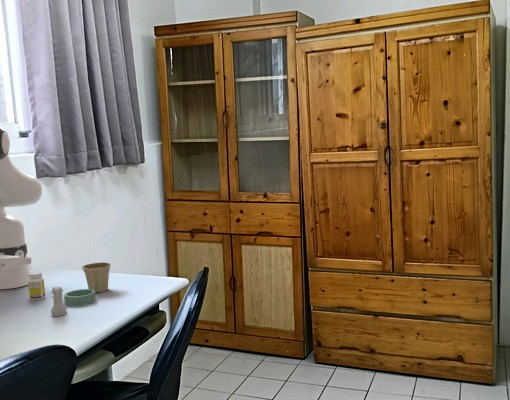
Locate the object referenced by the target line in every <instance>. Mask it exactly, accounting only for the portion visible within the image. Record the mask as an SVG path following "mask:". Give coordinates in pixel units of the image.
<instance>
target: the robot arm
mask: <svg viewBox="0 0 510 400" xmlns="http://www.w3.org/2000/svg"><path fill="white" fill-rule="evenodd" d="M10 146H11V141H10V138H9V134H8V132H7V131H6V130H5V129H4V128H3V127H0V290H10V289H15V288H21V287H26V286H29V284H28V280H29V279H30V278H29V273H31V272H33V269H32V268H33V267H32V258H31V257H29V256H28V255H27V254H28V246H27V243H26V241H25V240H26V238H25V227H24V224H23V221H21V220H20V219H19V218H17V217H16V216H15V217H14V216H12V215H10V214H8V212H7V211H6V209H5V208H12V207H13V208H15V207H25V206H29V205H34V204H36V203H37V204H38V201H40V199H41V197H42V194H43V188H42V184H41V182H40V181H39V179H38V178H37V177H36V176H33V175H29V174H28V173H25V172H24V171H22V170H20V169H19V168H17V166H16V165H14V164H13V162H12V161H11V159H10V156H9V151H10Z"/></svg>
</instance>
